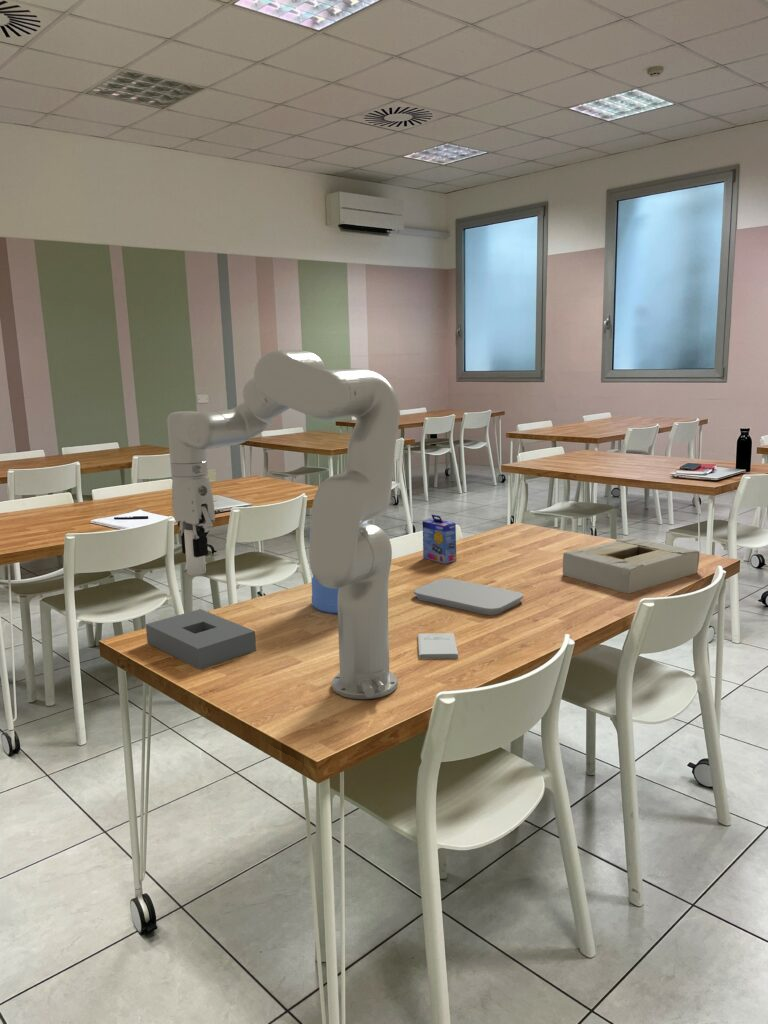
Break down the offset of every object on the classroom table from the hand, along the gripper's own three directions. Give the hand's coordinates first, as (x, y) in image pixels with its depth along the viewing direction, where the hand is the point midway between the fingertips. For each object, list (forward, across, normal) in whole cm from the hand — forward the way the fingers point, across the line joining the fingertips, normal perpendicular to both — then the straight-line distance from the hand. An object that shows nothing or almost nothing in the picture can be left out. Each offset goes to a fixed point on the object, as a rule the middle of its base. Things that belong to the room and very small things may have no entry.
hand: (195, 553), depth 164 cm
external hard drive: (+22, -39, -35) cm, 57 cm away
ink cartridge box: (+22, +9, -90) cm, 93 cm away
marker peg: (+4, 0, 0) cm, 4 cm away
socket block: (+21, 0, 0) cm, 21 cm away
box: (+22, -42, -114) cm, 124 cm away
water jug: (+22, -1, -40) cm, 46 cm away
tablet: (+22, -22, -65) cm, 72 cm away
